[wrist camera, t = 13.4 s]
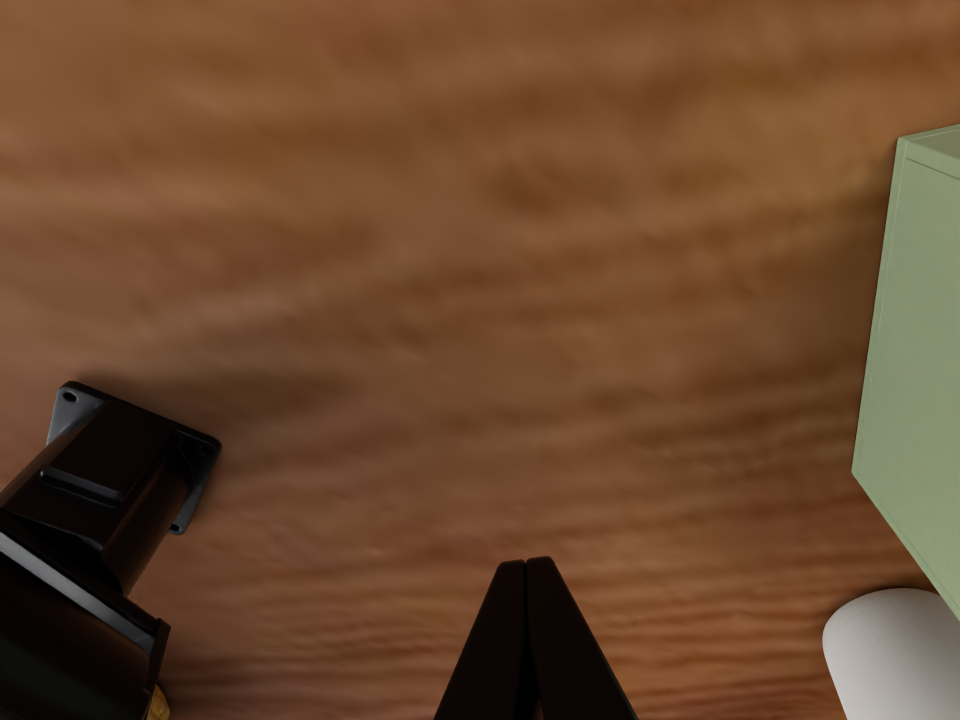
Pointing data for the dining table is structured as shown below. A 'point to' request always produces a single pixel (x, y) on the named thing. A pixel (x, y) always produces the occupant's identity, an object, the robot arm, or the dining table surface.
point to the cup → (895, 656)
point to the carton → (918, 362)
